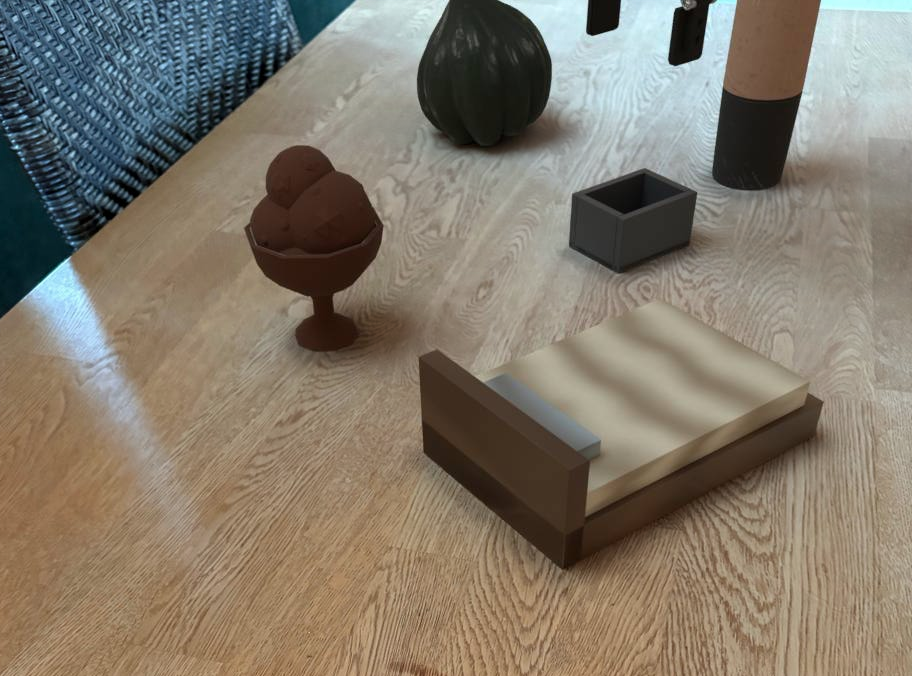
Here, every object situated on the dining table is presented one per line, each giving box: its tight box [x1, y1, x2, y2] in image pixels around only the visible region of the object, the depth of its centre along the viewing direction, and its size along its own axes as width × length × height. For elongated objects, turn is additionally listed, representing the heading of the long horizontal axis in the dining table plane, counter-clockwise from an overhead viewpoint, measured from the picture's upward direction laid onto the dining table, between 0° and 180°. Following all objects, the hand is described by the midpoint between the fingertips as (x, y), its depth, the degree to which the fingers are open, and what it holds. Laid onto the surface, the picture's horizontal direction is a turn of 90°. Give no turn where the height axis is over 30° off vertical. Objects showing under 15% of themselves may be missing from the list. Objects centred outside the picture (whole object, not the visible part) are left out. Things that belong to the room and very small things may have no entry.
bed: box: [418, 298, 825, 570], centre depth 72 cm, size 24×16×8 cm, turn 125°
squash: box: [416, 0, 553, 147], centre depth 113 cm, size 14×15×15 cm
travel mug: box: [711, 0, 822, 191], centre depth 99 cm, size 8×8×20 cm
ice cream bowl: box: [243, 144, 385, 352], centre depth 82 cm, size 11×11×15 cm
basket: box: [568, 167, 698, 274], centre depth 95 cm, size 9×7×5 cm
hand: (641, 46), depth 84 cm, fingers open, 9 cm apart
